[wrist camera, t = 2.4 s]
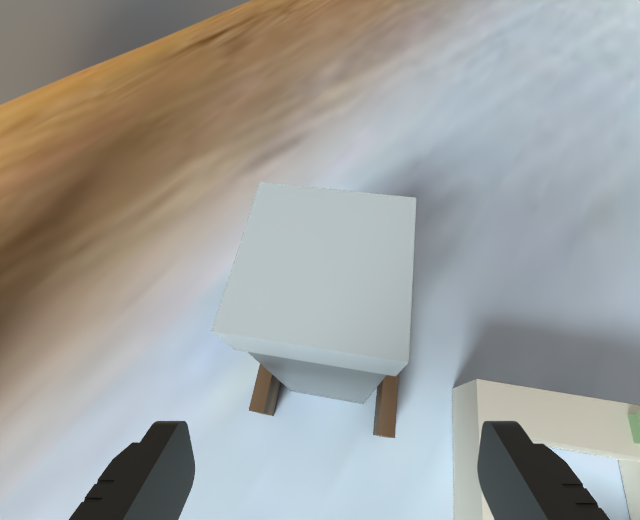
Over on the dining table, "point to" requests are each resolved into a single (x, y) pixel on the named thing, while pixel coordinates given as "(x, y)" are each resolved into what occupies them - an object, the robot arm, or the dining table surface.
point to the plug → (323, 288)
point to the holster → (384, 409)
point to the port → (541, 434)
